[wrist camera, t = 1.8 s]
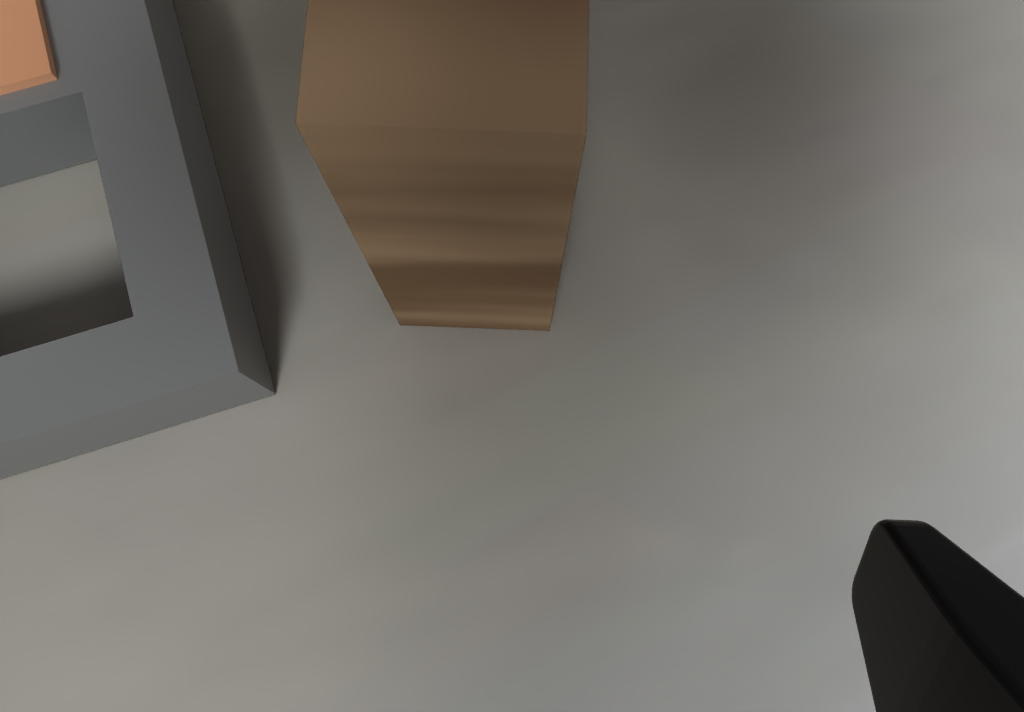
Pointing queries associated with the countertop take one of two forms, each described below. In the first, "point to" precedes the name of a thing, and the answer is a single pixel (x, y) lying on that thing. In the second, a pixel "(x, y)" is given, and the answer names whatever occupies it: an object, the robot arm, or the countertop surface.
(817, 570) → the countertop surface
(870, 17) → the countertop surface
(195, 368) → the socket block
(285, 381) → the countertop surface
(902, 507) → the countertop surface
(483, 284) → the brown wooden block
